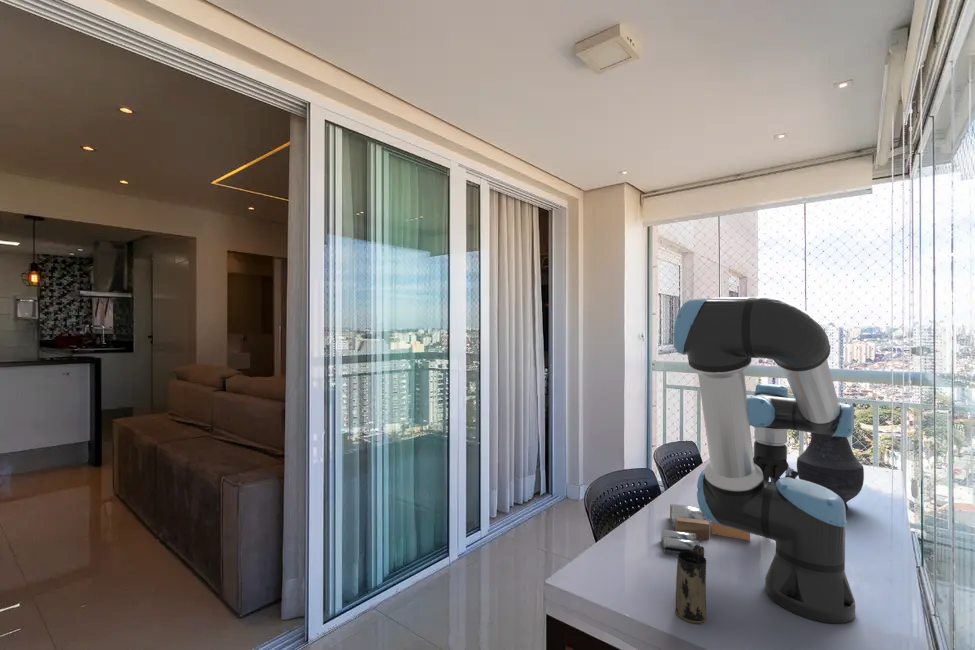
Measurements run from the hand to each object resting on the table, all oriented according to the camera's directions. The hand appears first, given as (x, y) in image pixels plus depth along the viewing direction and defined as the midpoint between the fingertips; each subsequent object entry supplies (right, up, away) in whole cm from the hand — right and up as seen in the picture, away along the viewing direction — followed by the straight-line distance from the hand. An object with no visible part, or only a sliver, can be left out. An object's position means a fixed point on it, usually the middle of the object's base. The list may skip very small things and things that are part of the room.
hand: (768, 530), depth 123 cm
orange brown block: (-9, -2, +2) cm, 10 cm away
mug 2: (-35, -1, -34) cm, 49 cm away
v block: (-27, -1, -8) cm, 28 cm away
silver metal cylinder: (-19, -2, +5) cm, 20 cm away
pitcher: (+35, -3, +27) cm, 44 cm away
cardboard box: (-19, -2, +5) cm, 20 cm away
